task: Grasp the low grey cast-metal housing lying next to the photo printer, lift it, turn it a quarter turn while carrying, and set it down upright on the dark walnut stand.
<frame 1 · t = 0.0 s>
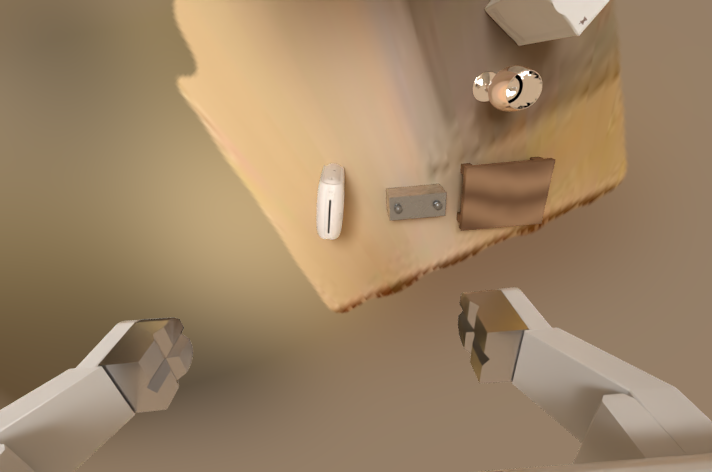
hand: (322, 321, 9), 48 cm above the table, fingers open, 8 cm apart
skincare box: (513, 10, 45), on the table
wineglass: (485, 86, 50), on the table
housing: (412, 196, 59), on the table
photo printer: (332, 188, 57), on the table
stand: (496, 189, 58), on the table
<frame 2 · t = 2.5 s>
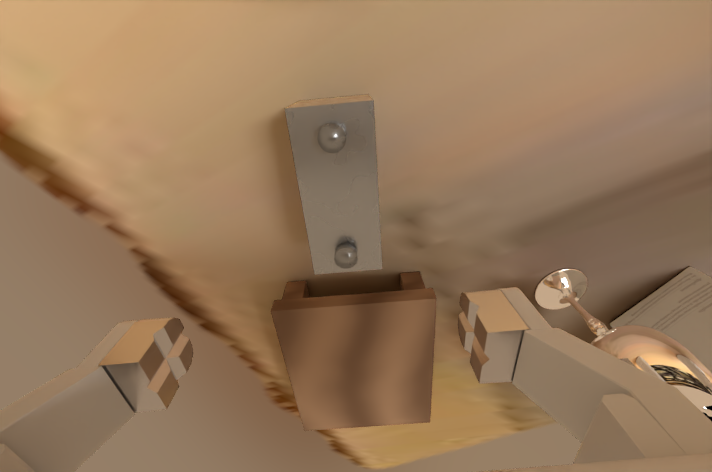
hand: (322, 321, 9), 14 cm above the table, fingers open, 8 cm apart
skincare box: (661, 305, 28), on the table
wineglass: (559, 287, 27), on the table
housing: (342, 173, 22), on the table
stand: (359, 337, 29), on the table
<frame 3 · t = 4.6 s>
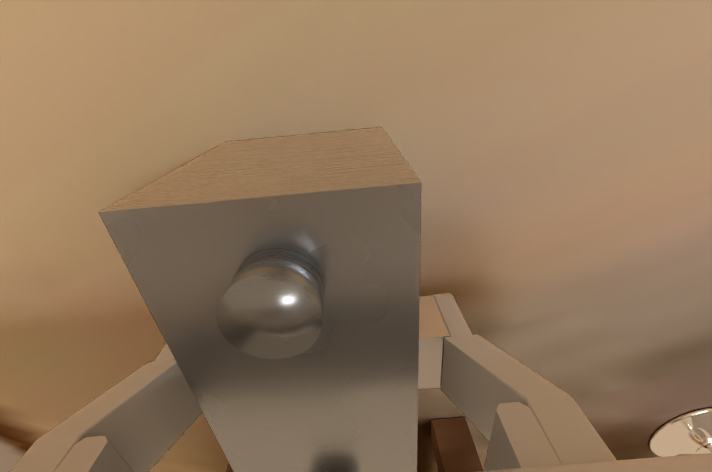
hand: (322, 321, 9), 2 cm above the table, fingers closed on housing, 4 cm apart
wineglass: (690, 429, 16), on the table
housing: (326, 279, 11), on the table, touching gripper
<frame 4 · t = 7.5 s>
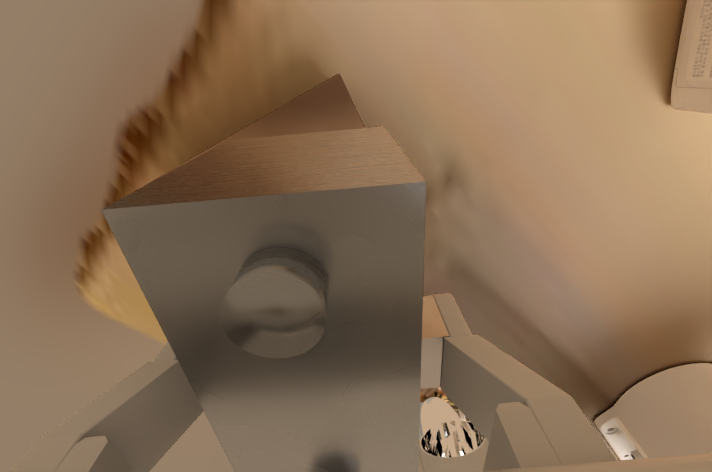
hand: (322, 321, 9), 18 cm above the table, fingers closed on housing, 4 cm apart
skincare box: (424, 382, 37), on the table
wineglass: (417, 319, 32), on the table
housing: (327, 279, 11), point 15 cm above the table, touching gripper
photo printer: (702, 32, 21), on the table
stand: (294, 192, 25), on the table
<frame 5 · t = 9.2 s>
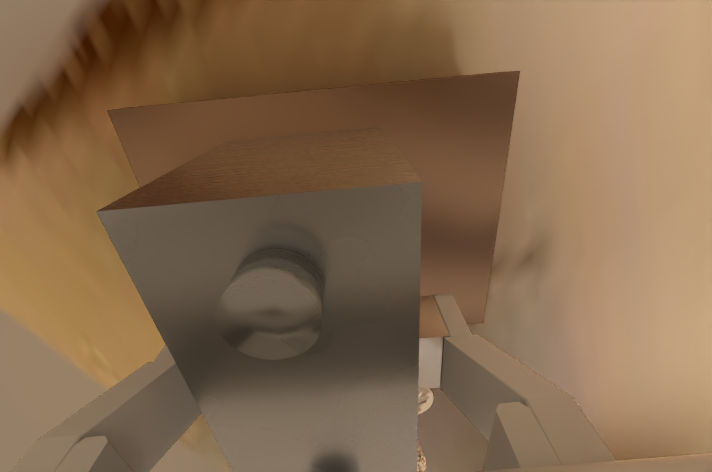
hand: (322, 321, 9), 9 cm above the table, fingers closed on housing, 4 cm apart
wineglass: (406, 397, 26), on the table
housing: (326, 279, 11), point 7 cm above the table, touching gripper
stand: (334, 204, 17), on the table
when the fingers open (7 cm above the table, at t = 10.5 s): housing stays where it is, resting on stand.
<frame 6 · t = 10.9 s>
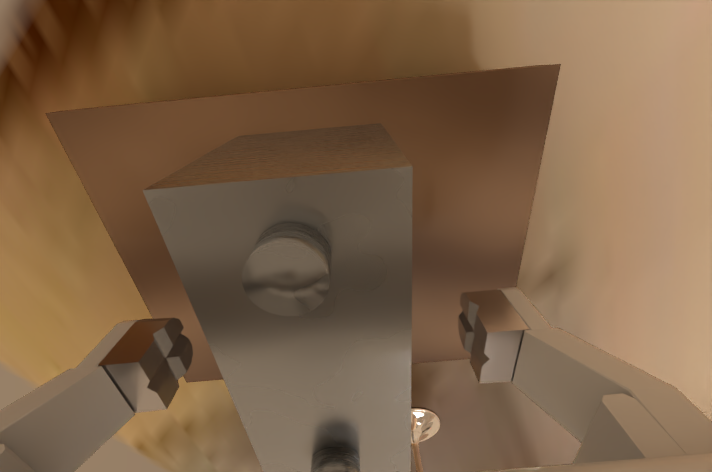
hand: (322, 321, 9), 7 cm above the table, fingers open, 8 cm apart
wineglass: (410, 423, 24), on the table
housing: (329, 265, 12), point 4 cm above the table, touching stand
stand: (331, 219, 15), on the table
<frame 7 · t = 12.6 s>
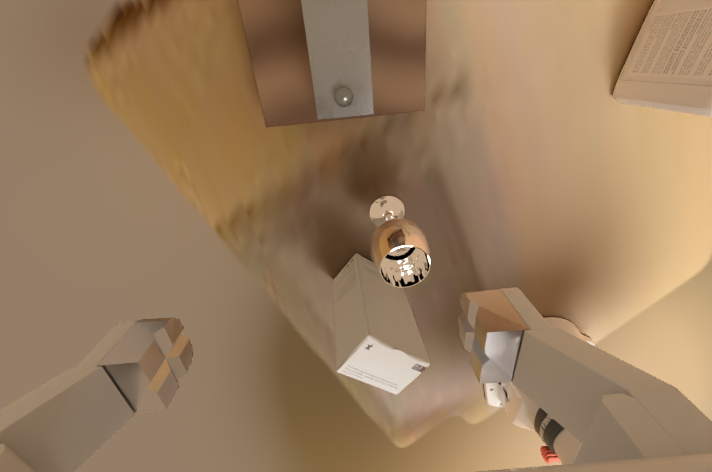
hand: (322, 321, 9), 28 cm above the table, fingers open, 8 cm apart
skincare box: (368, 277, 43), on the table
wineglass: (386, 211, 38), on the table
housing: (338, 46, 26), point 4 cm above the table, touching stand
photo printer: (645, 49, 31), on the table
stand: (337, 46, 29), on the table
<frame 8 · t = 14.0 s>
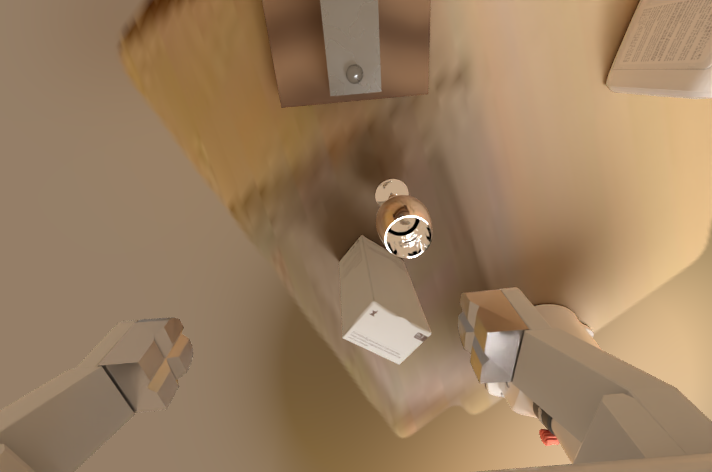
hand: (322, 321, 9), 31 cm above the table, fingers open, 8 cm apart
skincare box: (373, 260, 45), on the table
wineglass: (391, 194, 40), on the table
housing: (349, 32, 28), point 4 cm above the table, touching stand
photo printer: (636, 41, 33), on the table
stand: (348, 35, 32), on the table
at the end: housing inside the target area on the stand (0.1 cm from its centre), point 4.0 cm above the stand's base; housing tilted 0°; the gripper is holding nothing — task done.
